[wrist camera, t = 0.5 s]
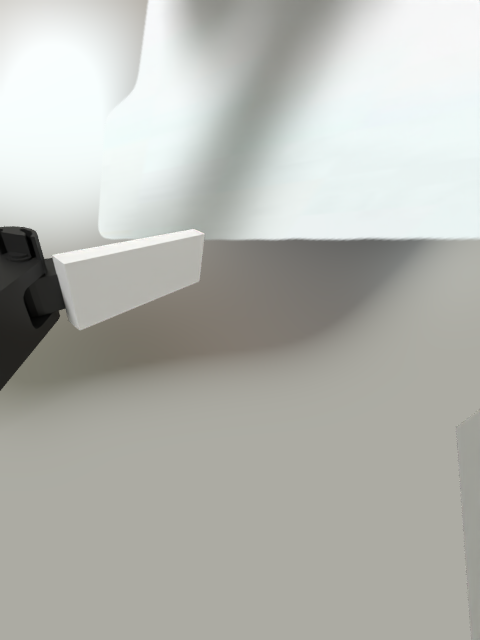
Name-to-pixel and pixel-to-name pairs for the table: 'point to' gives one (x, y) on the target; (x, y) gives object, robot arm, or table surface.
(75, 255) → the robot arm
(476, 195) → the table surface
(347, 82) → the table surface
